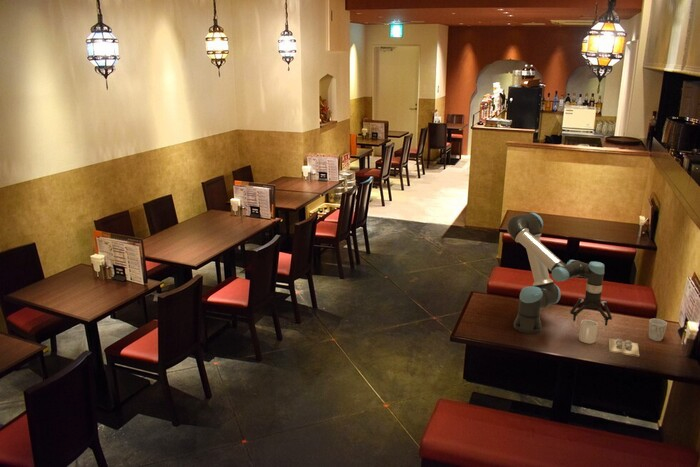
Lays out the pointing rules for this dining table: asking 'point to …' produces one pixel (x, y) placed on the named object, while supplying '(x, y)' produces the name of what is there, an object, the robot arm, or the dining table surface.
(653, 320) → the mug
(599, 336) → the dining table surface
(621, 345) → the peg stand
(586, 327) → the mug
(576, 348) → the dining table surface
